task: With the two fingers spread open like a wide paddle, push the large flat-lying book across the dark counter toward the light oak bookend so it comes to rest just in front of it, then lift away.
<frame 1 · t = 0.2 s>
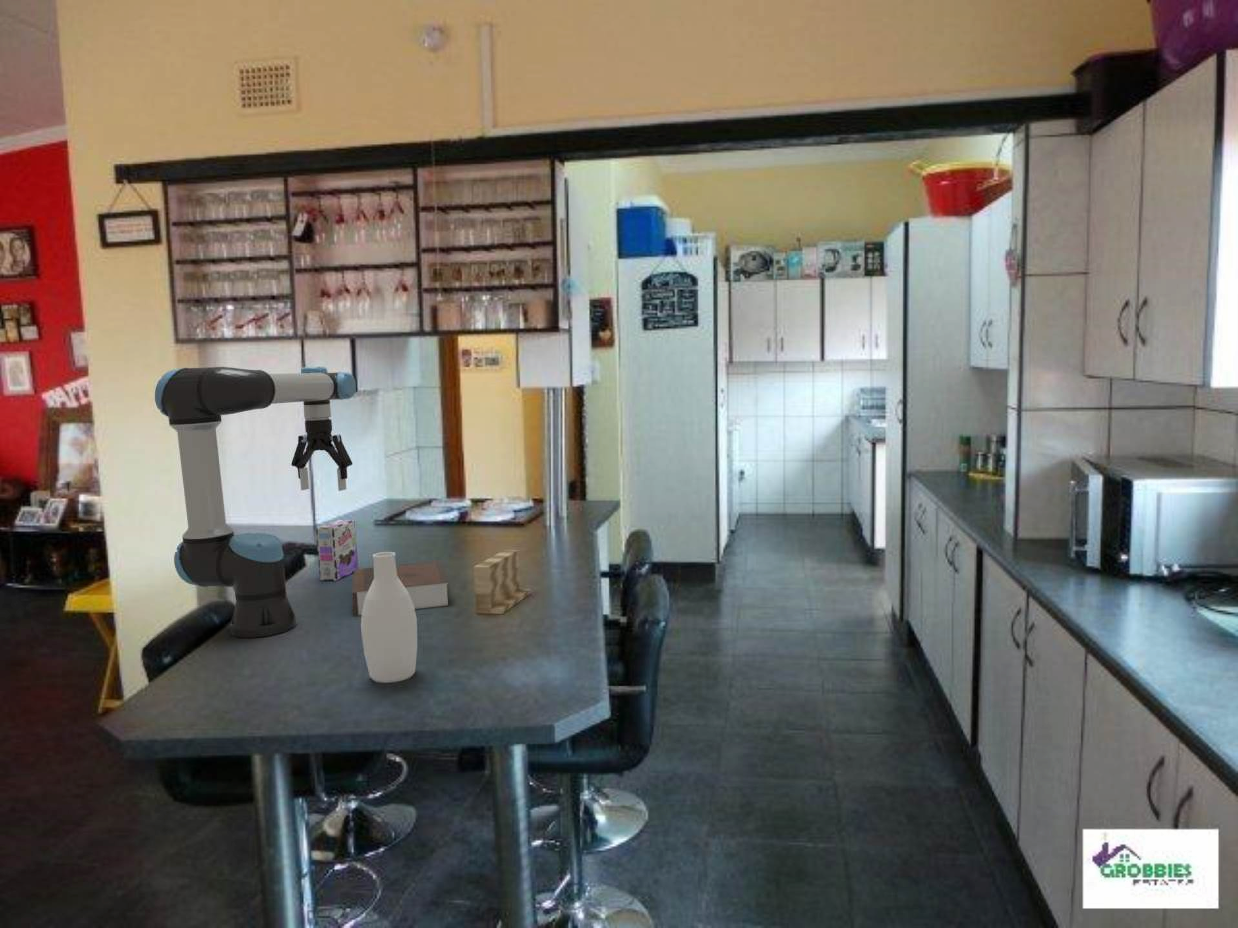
hand: (323, 489, 267), 27 cm above the breakfast bar, fingers open, 13 cm apart
candy box: (339, 576, 275), on the breakfast bar
bookend: (499, 602, 236), on the breakfast bar
bottle: (393, 676, 183), on the breakfast bar
book: (401, 599, 246), on the breakfast bar
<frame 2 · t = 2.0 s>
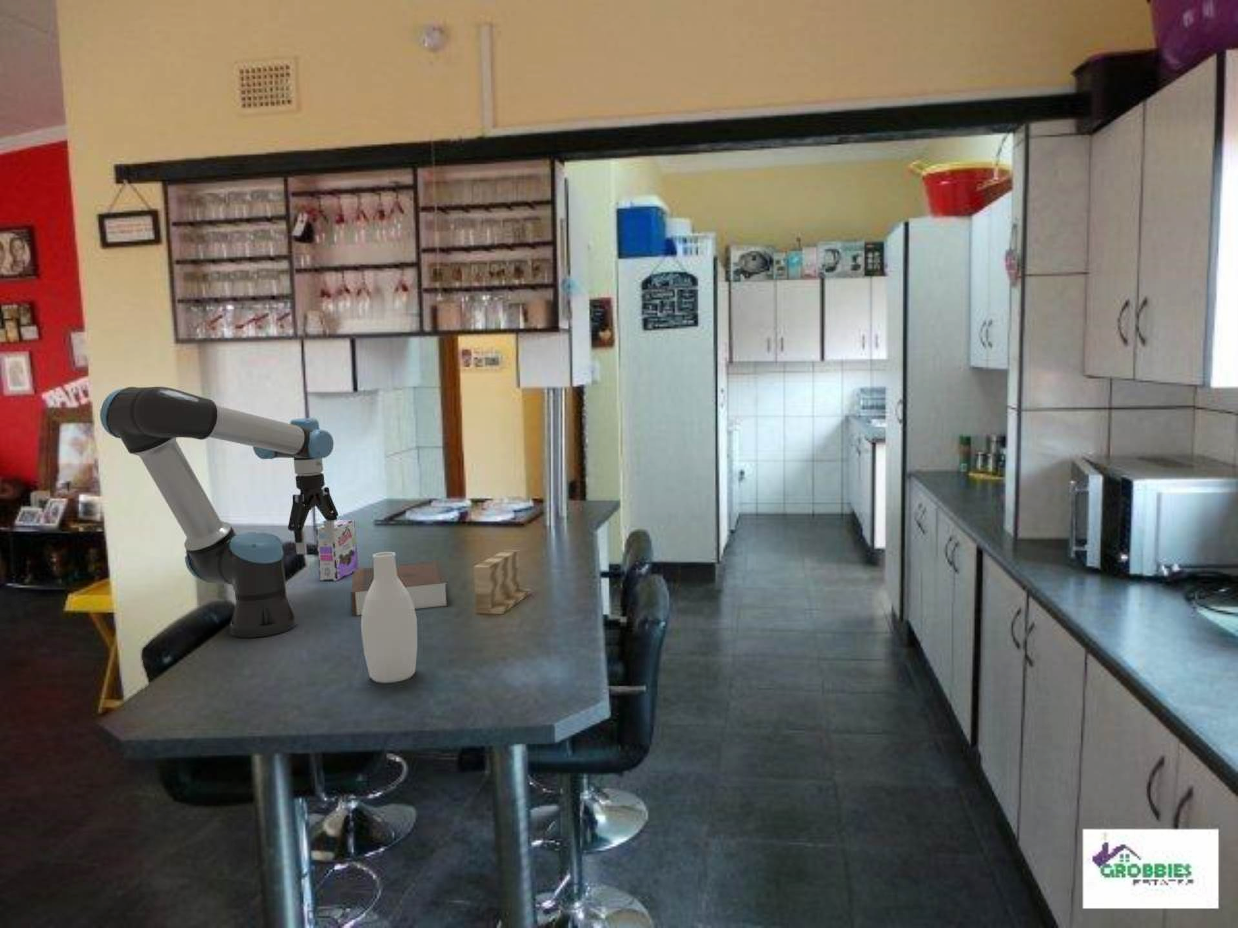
hand: (316, 548, 252), 13 cm above the breakfast bar, fingers open, 13 cm apart
nothing on the breakfast bar moved.
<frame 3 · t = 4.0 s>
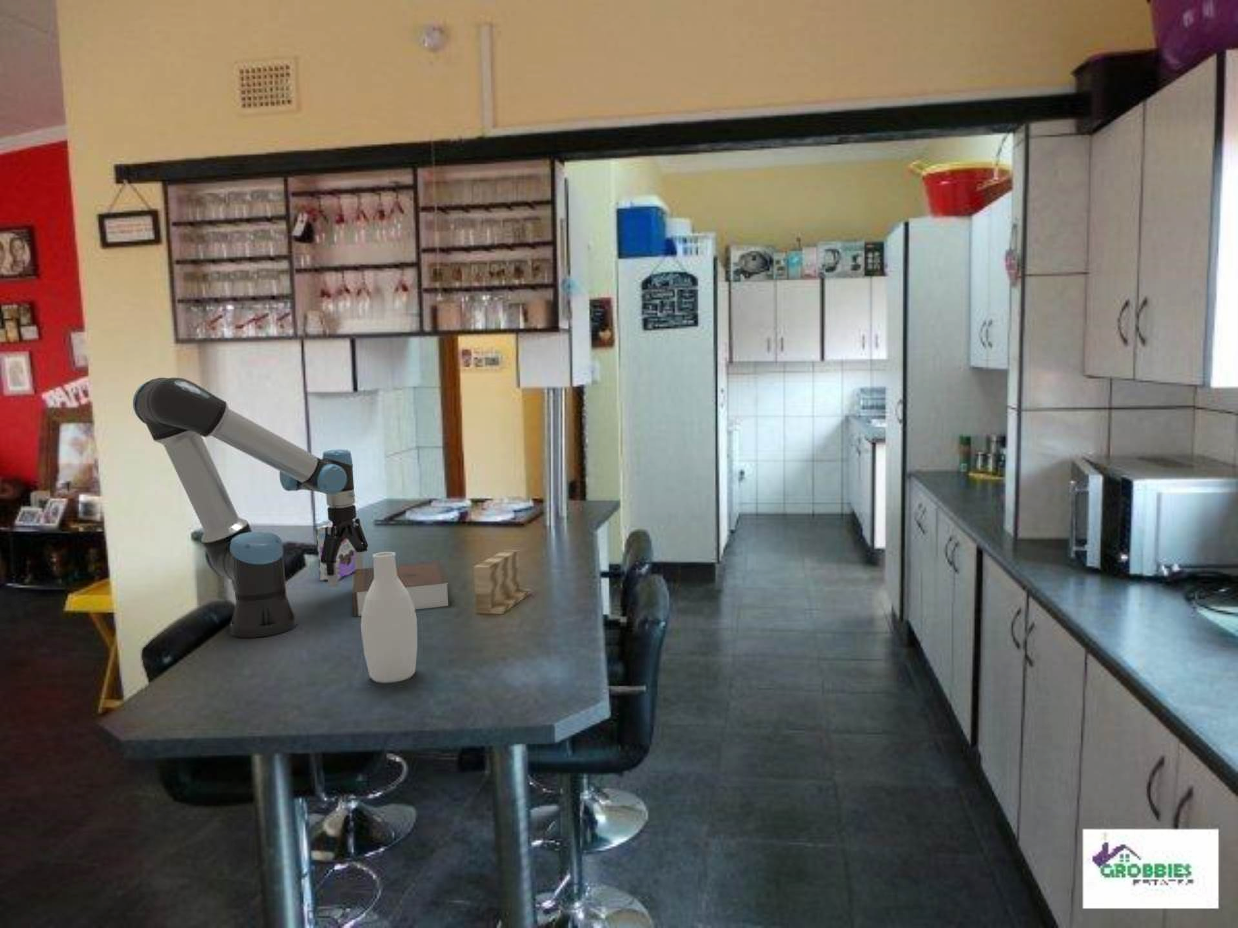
hand: (347, 580, 250), 4 cm above the breakfast bar, fingers open, 13 cm apart
book: (401, 599, 246), on the breakfast bar, touching gripper
everything else where it was.
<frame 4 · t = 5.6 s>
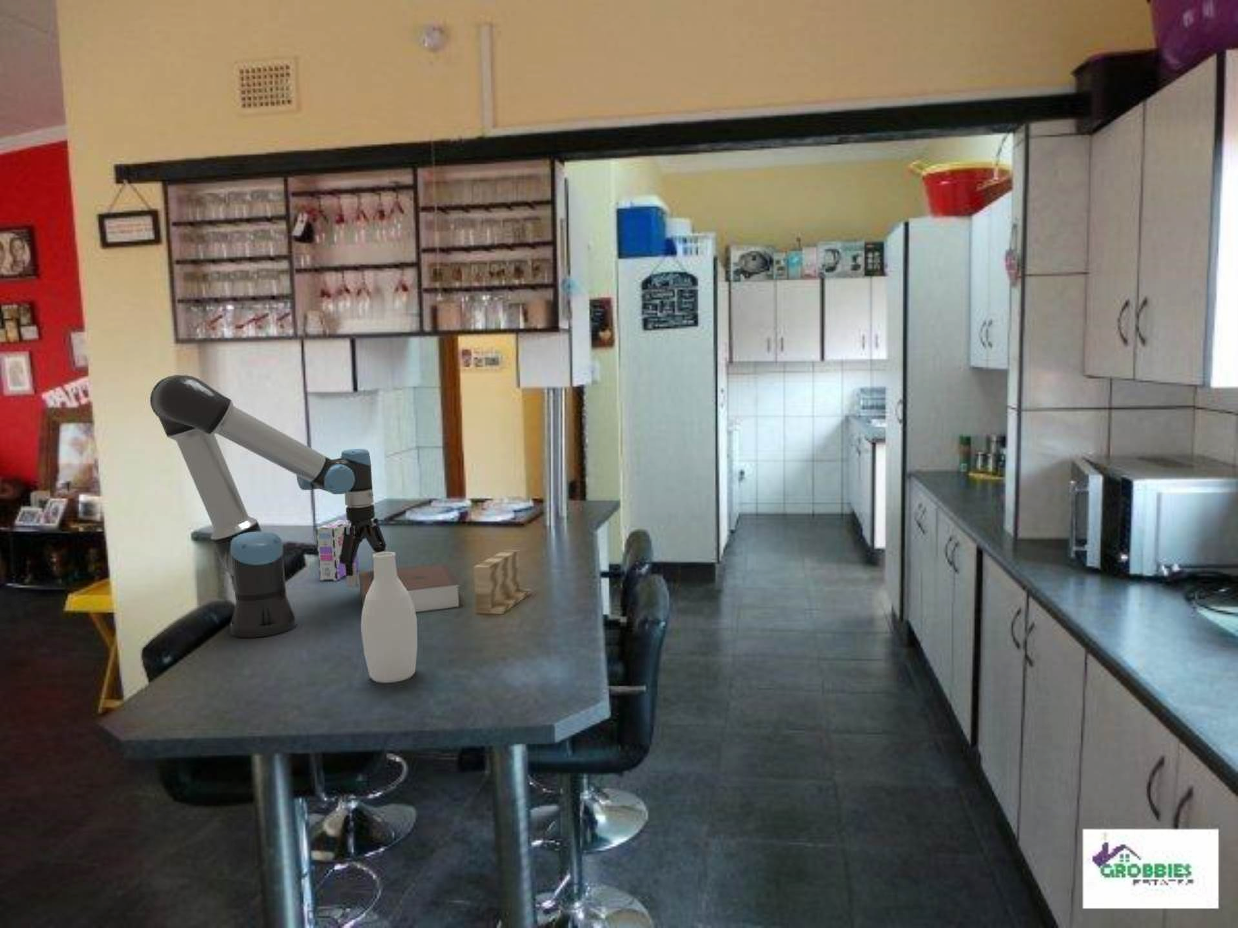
hand: (365, 580, 249), 4 cm above the breakfast bar, fingers open, 13 cm apart
book: (409, 602, 244), on the breakfast bar
everything else where it was.
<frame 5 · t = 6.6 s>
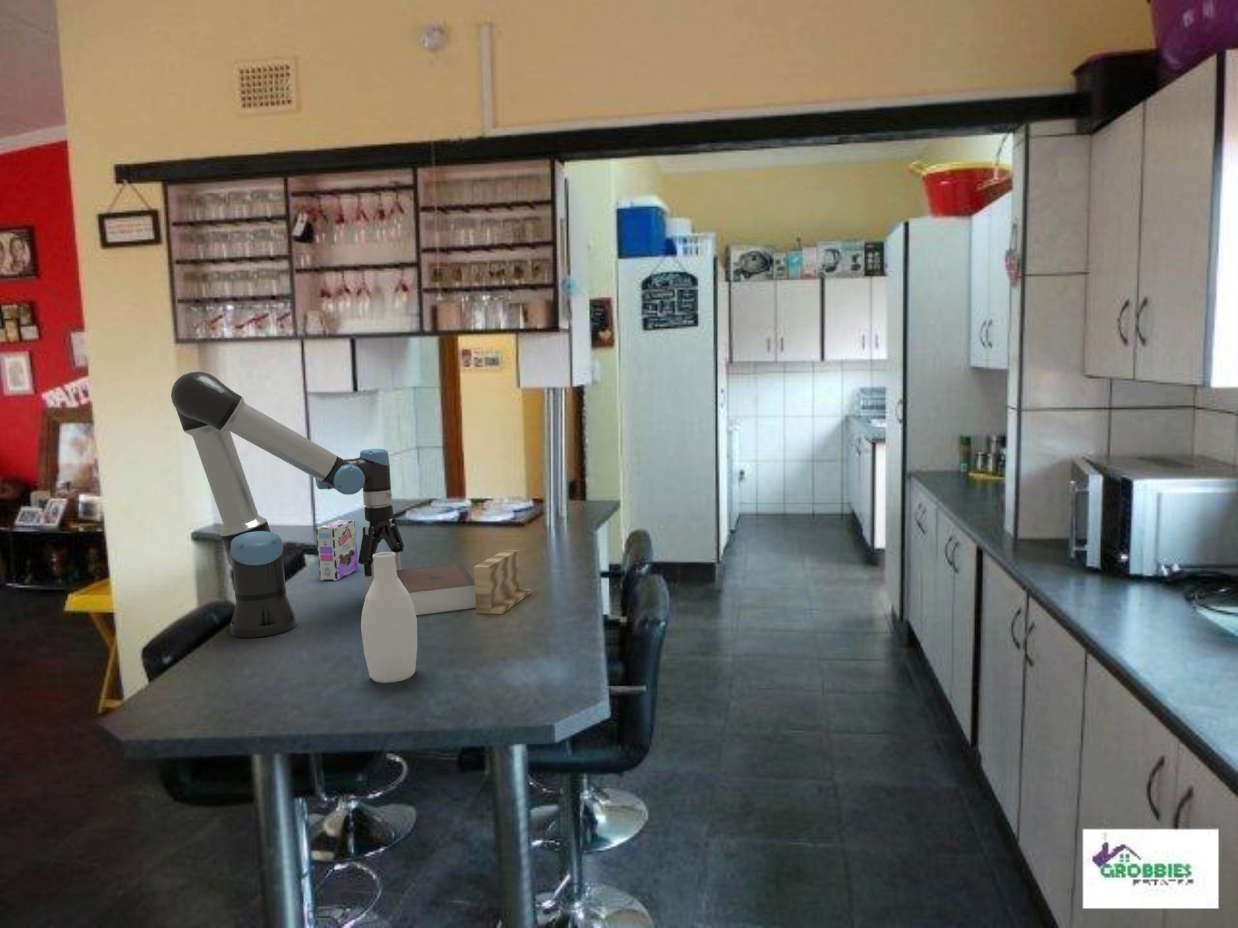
hand: (384, 581, 247), 4 cm above the breakfast bar, fingers open, 13 cm apart
book: (425, 602, 242), on the breakfast bar
everything else where it was.
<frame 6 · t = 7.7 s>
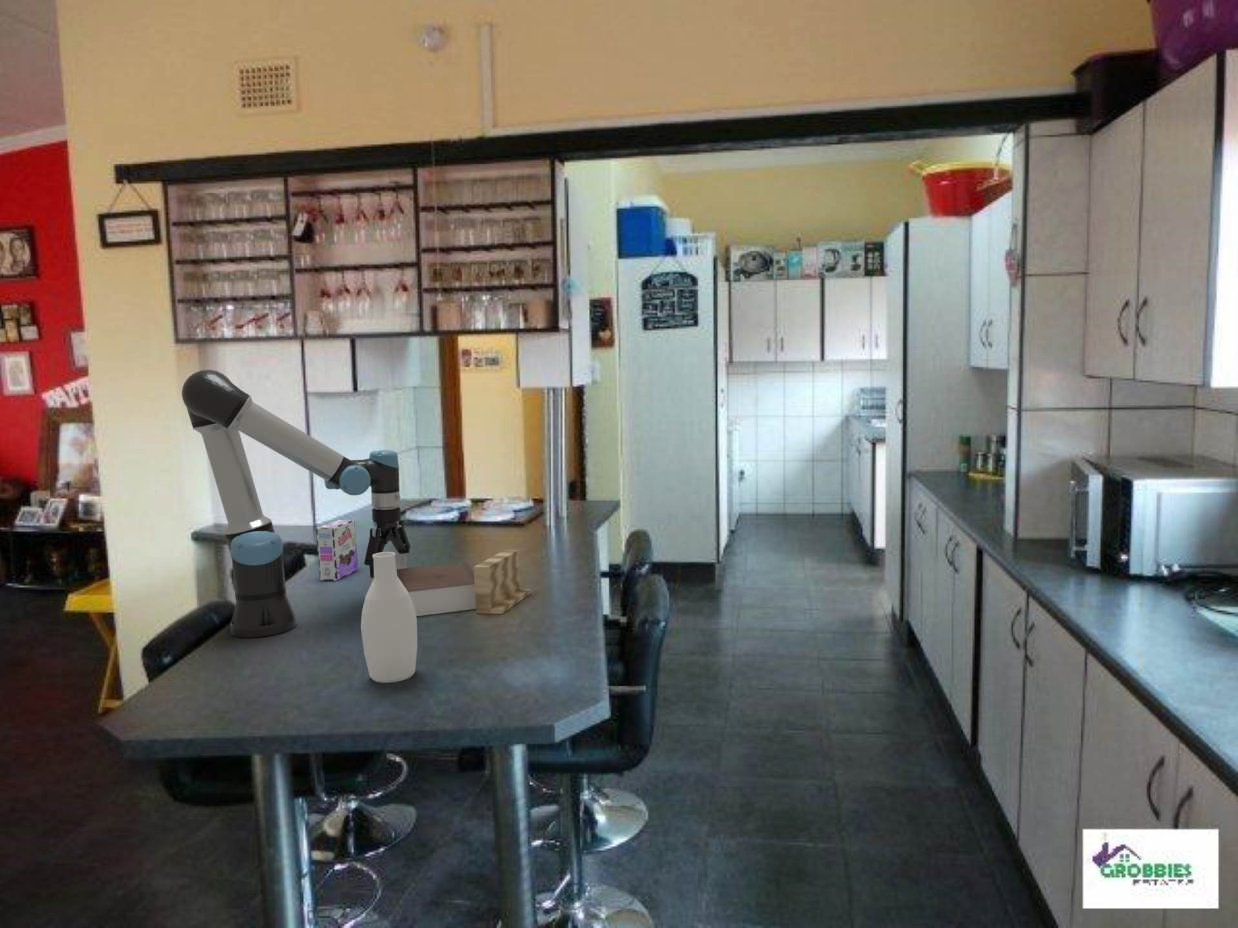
hand: (389, 582, 247), 4 cm above the breakfast bar
book: (430, 601, 241), on the breakfast bar, touching bookend, gripper
everything else where it was.
when the fingers open (4 cm above the breakfast bar, at t = 8.2 s): book stays where it is, on the breakfast bar.
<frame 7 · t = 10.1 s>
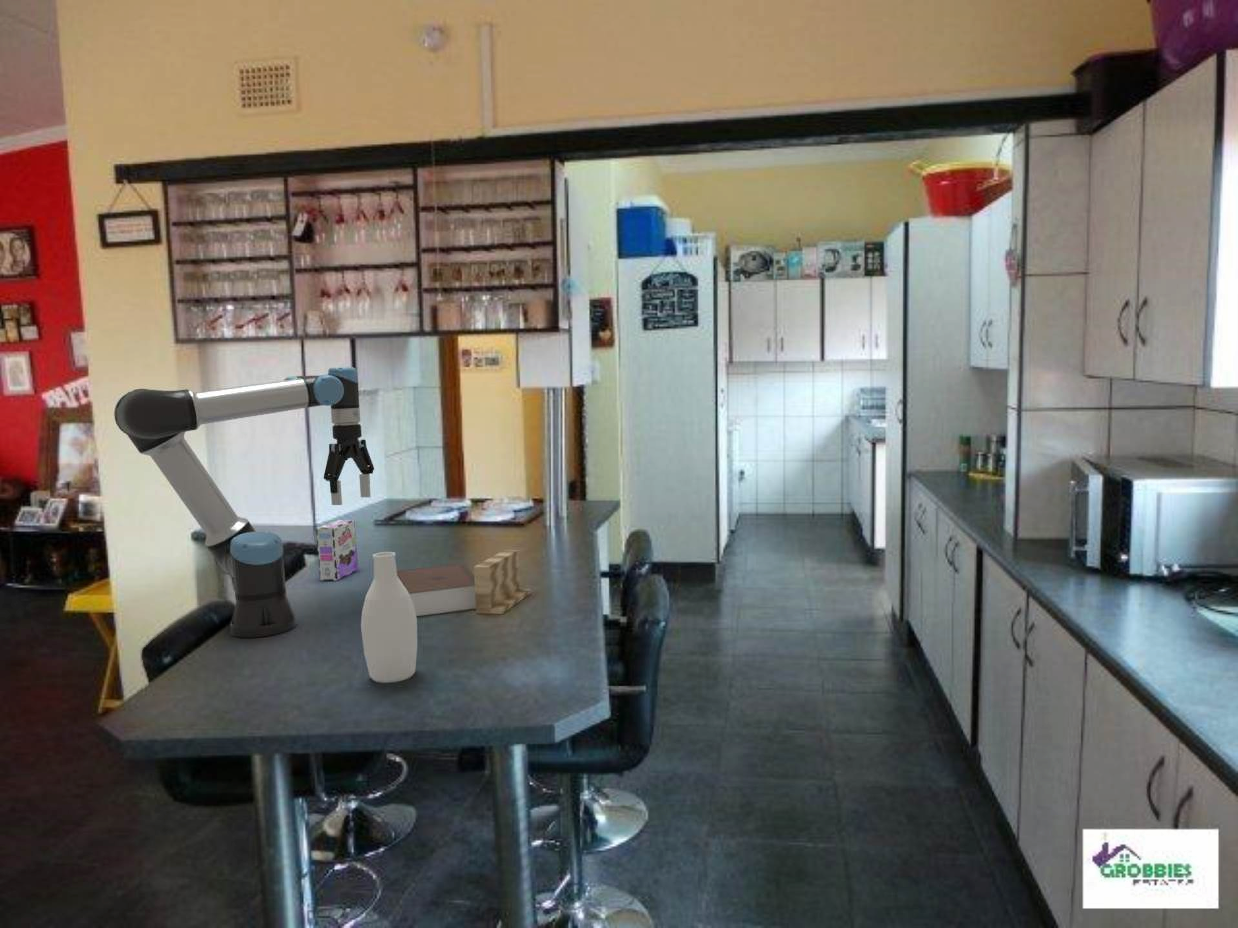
hand: (351, 501, 246), 27 cm above the breakfast bar, fingers open, 13 cm apart
book: (428, 603, 241), on the breakfast bar
everything else where it was.
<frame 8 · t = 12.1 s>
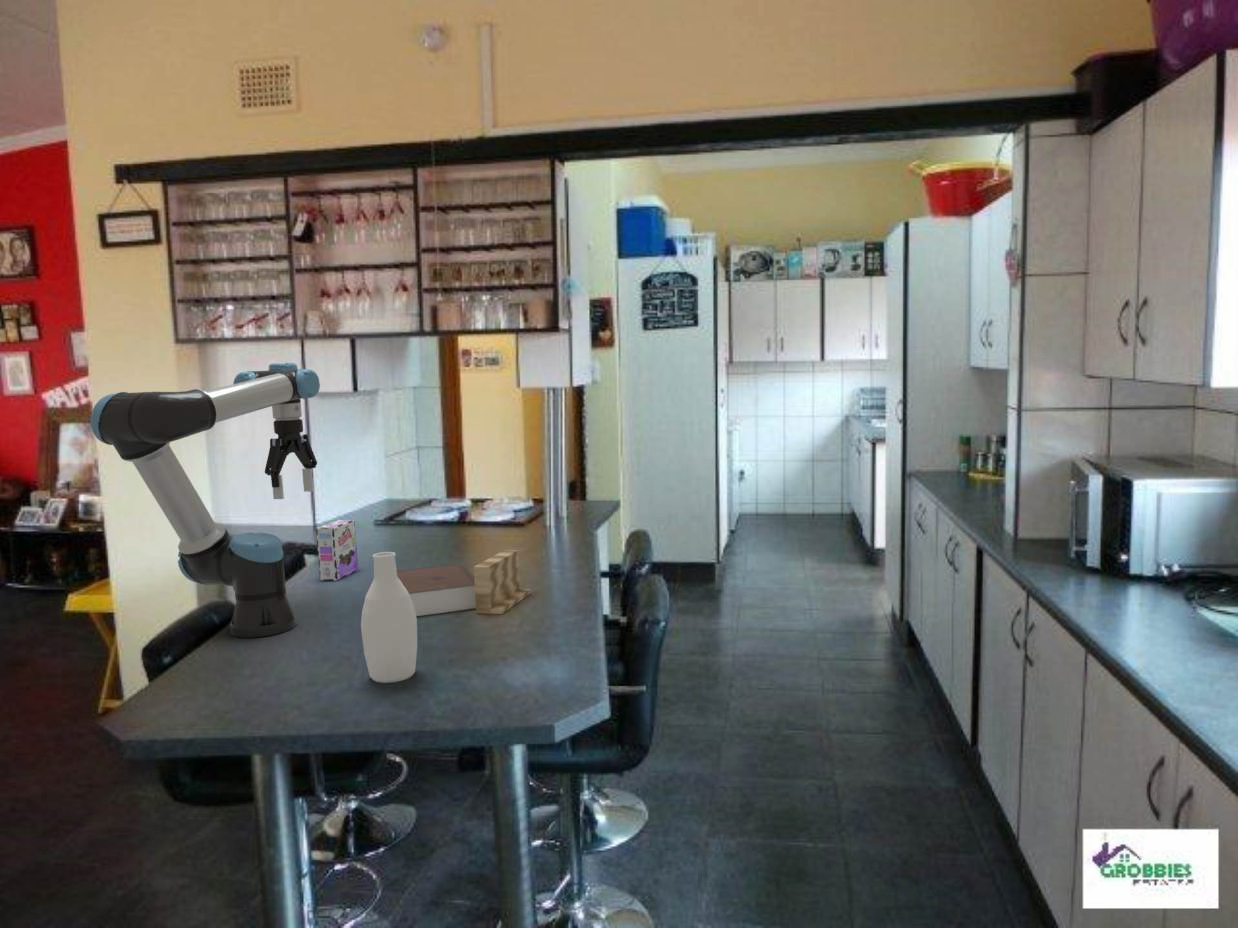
hand: (294, 495, 249), 29 cm above the breakfast bar, fingers open, 13 cm apart
nothing on the breakfast bar moved.
at the end: book moved 9.7 cm from its start; book inside the target area (6.7 cm from its centre), on the breakfast bar; book tilted 0° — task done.
